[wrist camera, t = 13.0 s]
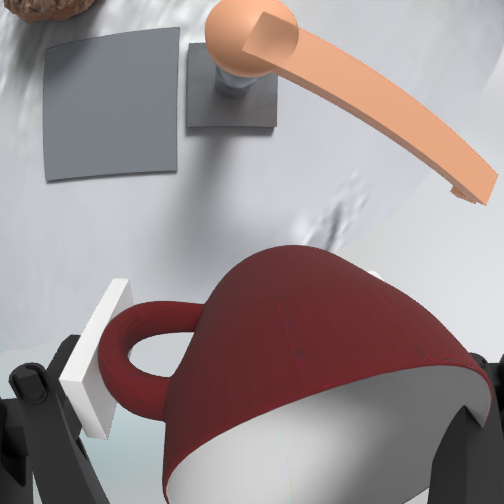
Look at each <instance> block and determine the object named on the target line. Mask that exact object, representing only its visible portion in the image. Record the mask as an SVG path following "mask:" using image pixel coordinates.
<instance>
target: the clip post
mask: <svg viewBox="0 0 504 504" xmlns="http://www.w3.org/2000/svg"><path fill="white" fill-rule="evenodd" d="M277 85H278V75H277V74H275V73H272V72H271V73H269V74H267V75H264V76H260V77H252V78H247V77H239V76H235V75H232V74H230V73H228V72H226V71H224V70H223V69H221V68H220V67H219V66H217V65H216V64H215V62H214V61H213V60H212V59H211V57H210V55H209V53H208V51H207V47H206V43H189V51H188V78H187V127H203V126H254V127H277Z"/></svg>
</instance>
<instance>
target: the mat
mask: <svg viewBox="0 0 504 504" xmlns="http://www.w3.org/2000/svg"><path fill="white" fill-rule="evenodd" d="M179 36H180V27H171V28H159V29H149V30H140V31H132V32H125V33H119V34H112V35H106V36H101V37H96V38H91V39H86V40H81V41H77V42H72V43H68V44H64V45H60V46H56V47H53V48H49V49H46V58H45V70H44V86H43V151H44V168H45V180H46V181H48V180H56V179H65V178H74V177H84V176H95V175H106V174H119V173H133V172H149V171H170V170H177V83H178V55H179Z"/></svg>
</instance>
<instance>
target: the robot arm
mask: <svg viewBox="0 0 504 504" xmlns="http://www.w3.org/2000/svg"><path fill="white" fill-rule="evenodd" d="M366 272H368V273H370V274H372V275H373V276H375V277H377V278H379V279H380V280H382V281H384V280H383V279H382V278H381V277H380V276H379V275H378V274H377V273H376V272H375V271H366ZM384 282H385V281H384ZM132 306H134V305H133V299H132V293H131V287H130V280H129V279H113V280H112V282H111V284H110V285H109V287H108V289H107V290H106V292H105V294H104V296H103V297H102V299H101V301H100V302H99V304H98V306H97V308H96V309H95V311H94V313H93V315H92V317H91V318H90V320H89V322H88V324H87V326H86V327H85V329H84V331H83V333H82V335H70V336H69V337H68V338H66V339H65V340H64V341H63V342H62V343H61V345H60V347H59V348H58V350H57V353H56V354H55V355H54V357H53V360H52V361H51V363H50V364H49V366H48V368H47V370H45V368H44V367H43V366H42V365H41V364H39V363H33V362H32V363H25V364H23V365H20V366H18V367H17V368H16V369H14V370H13V371H12V373H11V374H10V376H9V383H10V385H11V387H12V389H13V391H14V393H15V395H16V397H17V398H13V399H1V397H0V504H33V476H32V475H33V474H34V477H35V481H36V485H37V488H38V491H39V495H40V498H41V501H42V504H110V503H109V501H108V499H107V497H106V495H105V493H104V491H103V489H102V487H101V484H100V482H99V480H98V478H97V476H96V474H95V472H94V469H93V467H92V465H91V463H90V460H89V458H88V455H87V453H86V450H85V448H84V445H83V443H82V441H81V439H80V438H79V434H80V431H81V428H83V430H84V432H85V434H86V436H87V437H91V438H98V439H107V440H108V437H109V432H110V428H111V424H112V420H113V416H114V412H115V408H116V404H117V401H116V400H115V399H114V398H113V397H112V396H111V394H110V393H109V391H108V390H107V388H106V387H105V385H104V382H103V380H102V377H101V374H100V371H99V367H98V357H97V350H98V345H99V340H100V338H101V335H102V333H103V331H104V329H105V327H106V326H107V324H108V323H109V322H110V321H111V320H112V319H113V318H114V317H115V316H117V315H118V314H119V313H120V312H122V311H124V310H125V309H127V308H129V307H132ZM132 348H133V347H132ZM131 351H132V349H131V350H130V351H129V353H128V359H129V358H130V355H131ZM469 354H470V355H471V356H472V357H473V359H474V360H475V361H476V362H477V363H478V364H479V366H480V367H481V368H482V369H483V370H484V372H485V373H486V375H487V376H488V378H489V380H490V382H491V386H492V390H493V399H492V406H491V410H490V413H489V416H488V419H487V421H486V424H485V426H484V427H481V425H480V424H479V423H478V421H477V420H476V419H475V417H474V416H473V415H472V413H471V412H470V411H469V410H468V408H467V407H466V406H465V404H464V405H463V406H462V407H461V408H460V410H459V411H458V412H457V413H456V415H455V416H454V418H453V419H452V421H451V422H450V424H449V426H448V428H447V430H446V432H445V434H444V436H443V438H442V440H441V442H440V444H439V447H438V449H437V451H436V454H435V456H434V459H433V461H432V469H431V478H430V487H429V495H428V502H427V504H504V354H503V356H502V358H501V360H500V362H499V363H488V362H487V361H486V360H485V359H484V358H483V357H482V356H480V355H478V354H475V353H469ZM32 472H33V473H32Z"/></svg>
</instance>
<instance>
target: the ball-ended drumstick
mask: <svg viewBox="0 0 504 504" xmlns="http://www.w3.org/2000/svg"><path fill="white" fill-rule="evenodd" d="M205 40H206V47H207V51H208V53H209V55H210V57H211V59H212V60H213V61H214V62H215V64H216V65H217V66H219V67H220V68H221V69H223V70H224V71H226V72H228V73H230V74H232V75H235V76H239V77H247V78H252V77H260V76H264V75H267V74H269V73H271V72H272V73H275V74H277V75H279V76H281V77H283V78H285V79H287V80H289V81H291V82H293V83H295V84H297V85H299V86H301V87H303V88H305V89H307V90H309V91H311V92H313V93H315V94H317V95H319V96H320V97H322V98H324V99H326V100H328V101H330V102H331V103H333V104H335V105H337V106H338V107H340V108H342V109H344V110H345V111H347V112H349V113H350V114H352V115H354V116H355V117H357V118H359V119H360V120H362V121H364V122H365V123H367V124H369V125H370V126H372V127H373V128H375V129H376V130H378V131H380V132H381V133H383V134H384V135H386V136H387V137H389V138H390V139H392V140H393V141H395V142H396V143H398V144H399V145H400V146H402V147H403V148H405V149H406V150H408V151H409V152H410V153H412V154H413V155H415V156H416V157H417V158H419V159H420V160H421V161H423V162H424V163H426V164H427V165H428V166H429V167H431V168H432V169H433V170H435V171H436V172H437V173H439V174H440V175H441V176H442V177H444V178H445V179H446V180H448V181H449V182H450V183H451V184H452V185H453V187H452V189H451V192H452V193H453V194H454V195H455V196H457V197H459V198H461V199H464V200H467V201H469V202H472V203H474V204H476V202H478V203H480V204H483V205H485V206H486V204H487V202H488V200H489V197H490V194H491V192H492V190H493V187H494V185H495V182H496V180H497V177H498V174H497V173H496V172H495V171H494V170H493V169H492V168H491V167H490V166H489V164H488V163H487V162H485V160H484V159H483V158H482V157H480V155H479V154H478V153H477V152H476V151H475V150H474V149H472V148H471V147H470V146H469V145H468V144H467V143H466V142H465V141H464V140H463V139H462V138H461V137H460V136H459V135H458V134H456V133H455V132H454V131H453V130H452V129H451V128H450V127H449V126H447V125H446V124H445V123H444V122H443V121H442V120H440V119H439V118H438V117H437V116H436V115H434V114H433V113H432V112H431V111H429V110H428V109H427V108H426V107H424V106H423V105H422V104H421V103H419V102H418V101H417V100H416V99H414V98H413V97H412V96H410V95H409V94H408V93H406V92H405V91H404V90H402V89H401V88H399V87H398V86H397V85H395V84H394V83H392V82H391V81H390V80H388V79H387V78H385V77H384V76H382V75H381V74H379V73H378V72H376V71H375V70H373V69H372V68H370V67H369V66H367V65H366V64H364V63H362V62H361V61H359V60H358V59H356V58H354V57H353V56H351V55H349V54H348V53H346V52H344V51H342V50H341V49H339V48H337V47H336V46H334V45H332V44H330V43H328V42H327V41H325V40H323V39H321V38H319V37H317V36H315V35H313V34H311V33H310V32H308V31H306V30H304V29H302V28H300V27H298V24H297V21H296V19H295V17H294V15H293V14H292V12H291V11H290V10H289V9H288V8H287V6H285V5H284V4H283V3H282V2H280V1H279V0H222V1H221V2H219V3H218V4H217V5H216V6H215V7H214V8H213V9H212V11H211V12H210V14H209V16H208V18H207V20H206V24H205Z"/></svg>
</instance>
